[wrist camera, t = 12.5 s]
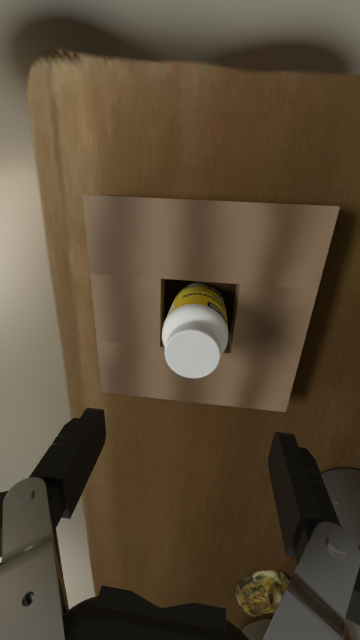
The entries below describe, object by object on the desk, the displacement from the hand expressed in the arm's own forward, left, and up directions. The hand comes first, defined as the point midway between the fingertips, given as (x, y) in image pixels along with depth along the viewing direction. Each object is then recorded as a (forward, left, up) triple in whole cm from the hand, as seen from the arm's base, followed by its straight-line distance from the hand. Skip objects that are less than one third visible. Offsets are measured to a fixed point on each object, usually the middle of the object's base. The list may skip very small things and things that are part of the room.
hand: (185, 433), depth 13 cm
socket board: (0, 0, -17) cm, 17 cm away
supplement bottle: (0, 0, -17) cm, 17 cm away
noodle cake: (-15, +54, -17) cm, 59 cm away
